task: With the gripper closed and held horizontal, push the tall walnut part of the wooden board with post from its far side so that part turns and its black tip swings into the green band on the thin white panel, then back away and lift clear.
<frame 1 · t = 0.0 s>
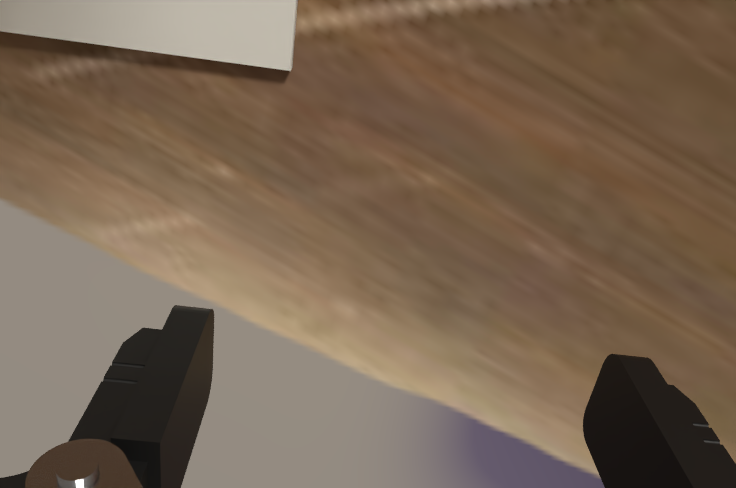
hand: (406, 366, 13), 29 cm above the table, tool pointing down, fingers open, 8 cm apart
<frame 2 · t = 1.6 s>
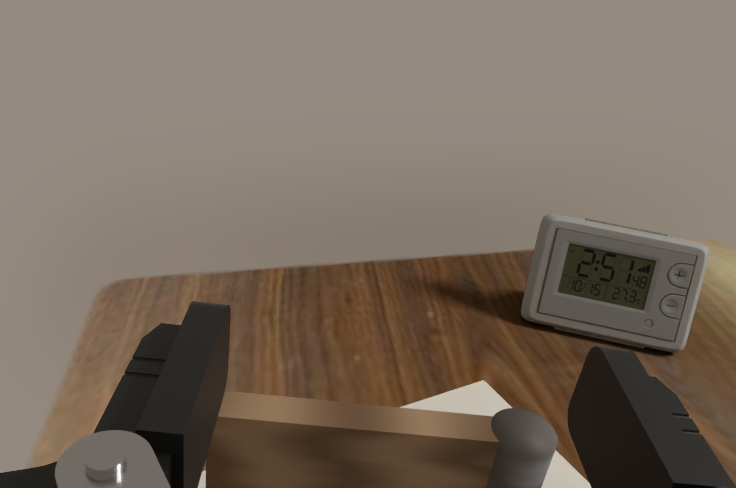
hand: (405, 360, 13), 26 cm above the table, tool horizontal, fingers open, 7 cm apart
digital clock: (595, 328, 65), on the table
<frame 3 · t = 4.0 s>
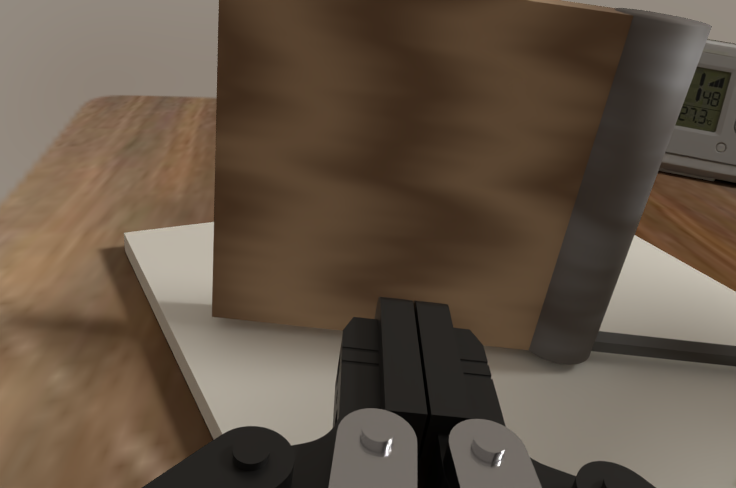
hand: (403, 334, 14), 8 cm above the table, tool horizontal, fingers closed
digital clock: (655, 165, 56), on the table
wooden board with post: (574, 197, 23), point 8 cm above the table, hinge at 0.0°
thin white panel: (528, 355, 28), on the table
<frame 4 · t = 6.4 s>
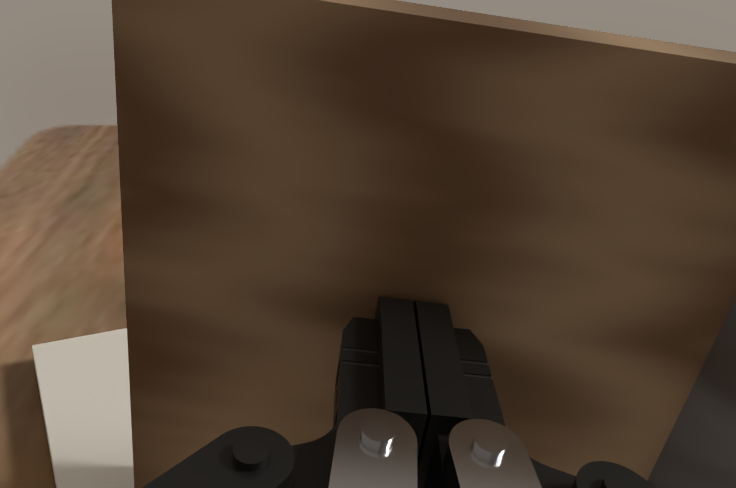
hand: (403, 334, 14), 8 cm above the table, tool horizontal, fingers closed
wooden board with post: (696, 350, 15), point 8 cm above the table, hinge at -2.0°, touching gripper
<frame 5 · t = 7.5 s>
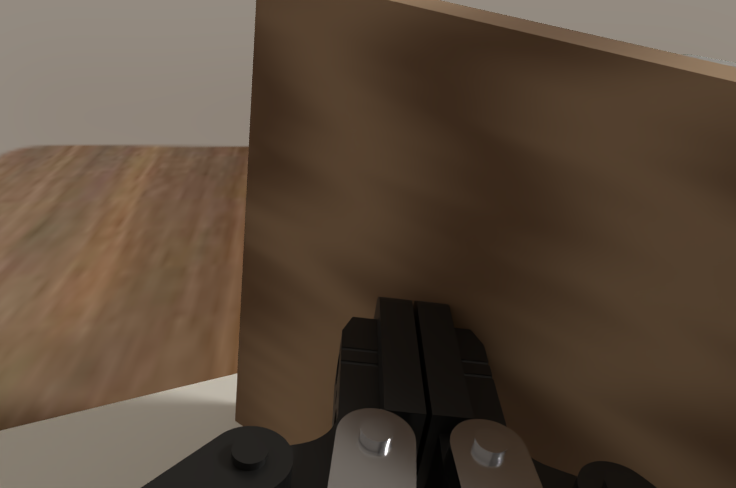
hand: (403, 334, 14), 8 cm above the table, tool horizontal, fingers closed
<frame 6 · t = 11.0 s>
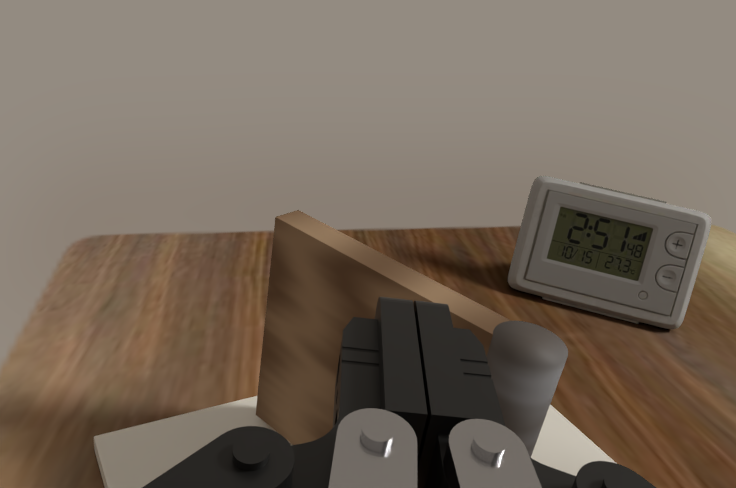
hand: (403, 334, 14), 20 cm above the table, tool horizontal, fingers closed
digital clock: (587, 302, 61), on the table
wooden board with post: (471, 449, 29), point 8 cm above the table, hinge at -40.7°
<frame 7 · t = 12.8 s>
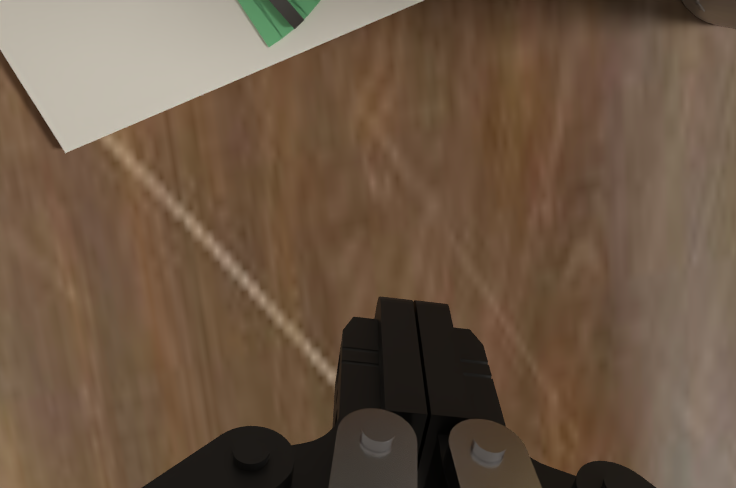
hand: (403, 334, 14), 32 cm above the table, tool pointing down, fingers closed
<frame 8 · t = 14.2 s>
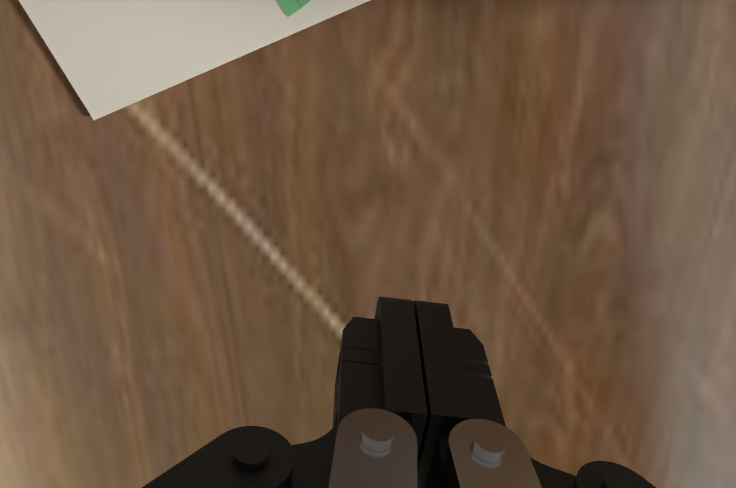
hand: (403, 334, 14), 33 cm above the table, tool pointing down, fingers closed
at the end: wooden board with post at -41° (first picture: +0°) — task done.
